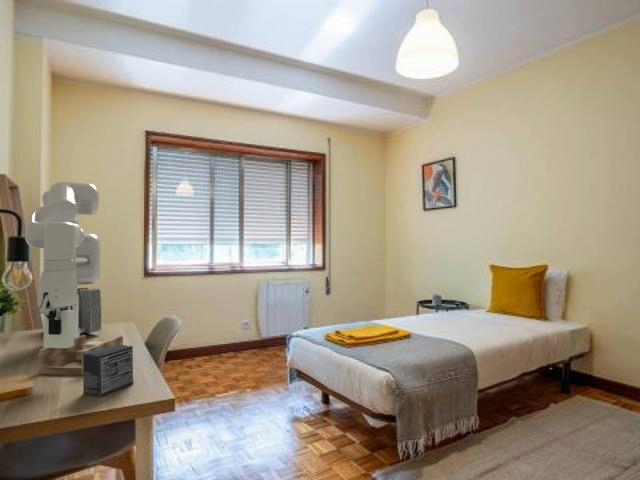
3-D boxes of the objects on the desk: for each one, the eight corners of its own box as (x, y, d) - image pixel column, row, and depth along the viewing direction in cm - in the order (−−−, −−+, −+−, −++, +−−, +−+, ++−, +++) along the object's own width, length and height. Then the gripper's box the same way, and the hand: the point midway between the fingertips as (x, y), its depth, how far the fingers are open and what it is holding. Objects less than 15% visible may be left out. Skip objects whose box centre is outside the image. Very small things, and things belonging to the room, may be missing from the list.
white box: (50, 345, 114) (50, 309, 114) (73, 345, 113) (74, 310, 113) (43, 347, 111) (43, 311, 111) (67, 348, 110) (68, 311, 111)
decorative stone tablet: (102, 286, 172) (64, 289, 187) (87, 288, 166) (49, 290, 181) (104, 332, 170) (66, 331, 185) (89, 335, 165) (50, 333, 180)
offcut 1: (83, 357, 137) (83, 348, 137) (97, 357, 137) (97, 348, 137) (75, 360, 133) (76, 351, 133) (89, 361, 133) (90, 352, 133)
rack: (82, 355, 138) (82, 335, 138) (122, 356, 137) (123, 336, 137) (38, 373, 119) (38, 349, 119) (85, 375, 118) (85, 351, 118)
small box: (116, 381, 113) (117, 343, 113) (134, 384, 110) (134, 345, 110) (81, 394, 103) (82, 352, 103) (99, 397, 101) (100, 355, 101)
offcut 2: (89, 349, 136) (89, 341, 136) (109, 349, 135) (109, 342, 135) (82, 352, 133) (82, 344, 133) (103, 352, 132) (103, 344, 132)
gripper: (67, 265, 121) (66, 327, 120) (23, 268, 105) (22, 339, 104) (91, 265, 120) (90, 327, 120) (51, 268, 104) (50, 340, 104)
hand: (58, 332), depth 112 cm, fingers closed on white box, 2 cm apart
